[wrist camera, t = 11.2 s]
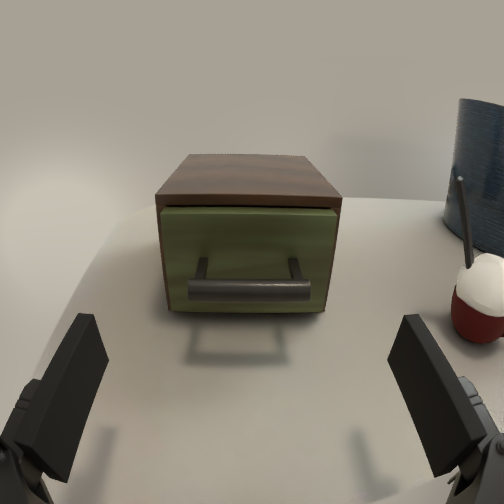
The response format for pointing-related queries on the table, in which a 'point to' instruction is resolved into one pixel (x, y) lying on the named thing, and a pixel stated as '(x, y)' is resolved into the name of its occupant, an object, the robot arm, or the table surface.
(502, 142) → the planter
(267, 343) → the table surface
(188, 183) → the cabinet
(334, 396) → the table surface
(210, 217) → the drawer
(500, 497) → the robot arm
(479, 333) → the cocoa
